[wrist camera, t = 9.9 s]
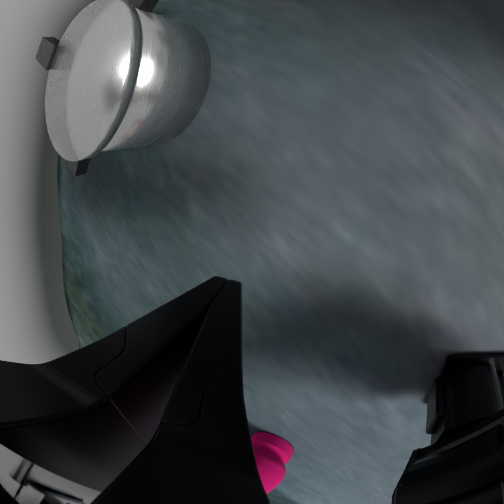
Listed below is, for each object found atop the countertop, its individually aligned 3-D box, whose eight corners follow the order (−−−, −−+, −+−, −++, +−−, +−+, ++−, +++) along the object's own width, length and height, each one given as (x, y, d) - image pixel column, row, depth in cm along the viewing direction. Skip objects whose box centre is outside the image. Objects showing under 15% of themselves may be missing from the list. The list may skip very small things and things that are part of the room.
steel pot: (259, 19, 14) (198, -21, 8) (155, 195, 24) (92, 214, 18) (166, -10, 15) (110, -29, 9) (98, 132, 25) (45, 140, 19)
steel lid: (178, 14, 9) (159, 8, 8) (101, 192, 16) (84, 197, 15) (74, -7, 11) (63, -9, 10) (34, 100, 18) (24, 102, 17)
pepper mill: (240, 434, 33) (159, 532, 16) (268, 424, 29) (176, 547, 12) (277, 459, 32) (207, 557, 15) (308, 452, 28) (233, 572, 11)
